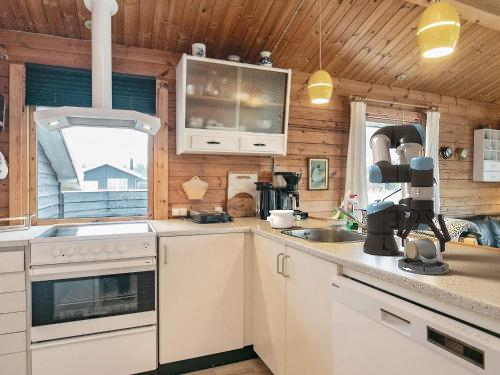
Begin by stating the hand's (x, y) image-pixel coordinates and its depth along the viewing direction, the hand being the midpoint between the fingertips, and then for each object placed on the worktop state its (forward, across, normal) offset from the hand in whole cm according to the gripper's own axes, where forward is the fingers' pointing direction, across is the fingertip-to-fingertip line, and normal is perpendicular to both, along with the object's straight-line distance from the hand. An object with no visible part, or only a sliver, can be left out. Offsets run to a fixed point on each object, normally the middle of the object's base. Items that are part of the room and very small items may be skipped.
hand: (422, 258), depth 120 cm
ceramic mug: (+1, +1, -1) cm, 1 cm away
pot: (+4, -112, +48) cm, 122 cm away
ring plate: (+4, 0, 0) cm, 4 cm away
